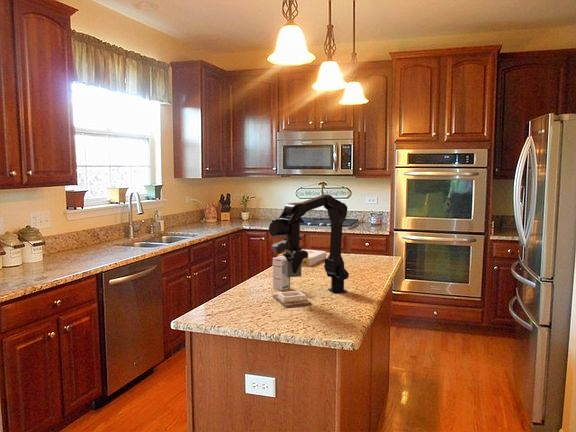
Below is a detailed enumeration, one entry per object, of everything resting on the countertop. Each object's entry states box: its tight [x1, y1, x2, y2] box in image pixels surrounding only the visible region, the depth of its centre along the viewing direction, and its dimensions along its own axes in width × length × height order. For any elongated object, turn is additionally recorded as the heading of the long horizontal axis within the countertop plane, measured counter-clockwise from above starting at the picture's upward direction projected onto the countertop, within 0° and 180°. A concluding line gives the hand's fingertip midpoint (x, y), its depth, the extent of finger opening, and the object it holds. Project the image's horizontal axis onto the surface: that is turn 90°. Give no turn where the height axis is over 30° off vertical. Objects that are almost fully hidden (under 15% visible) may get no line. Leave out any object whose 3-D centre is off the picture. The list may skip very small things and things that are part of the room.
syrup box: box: [272, 256, 291, 291], centre depth 212 cm, size 6×6×14 cm
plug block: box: [284, 261, 302, 278], centre depth 191 cm, size 4×6×6 cm, turn 111°
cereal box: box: [276, 248, 327, 268], centre depth 278 cm, size 20×6×28 cm
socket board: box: [272, 290, 312, 309], centre depth 192 cm, size 16×11×3 cm
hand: (292, 272), depth 191 cm, fingers closed on plug block, 4 cm apart
